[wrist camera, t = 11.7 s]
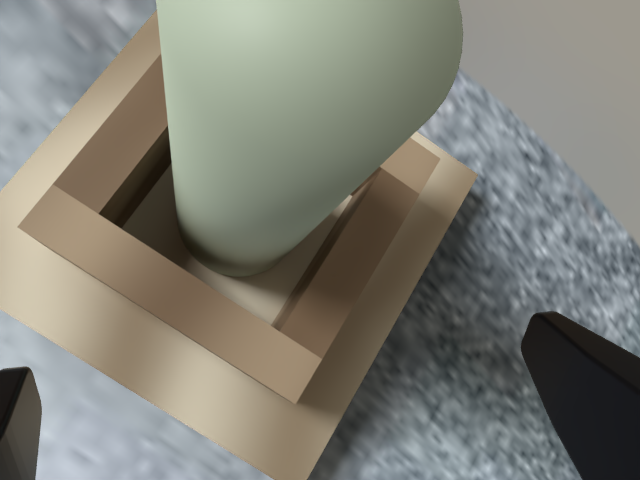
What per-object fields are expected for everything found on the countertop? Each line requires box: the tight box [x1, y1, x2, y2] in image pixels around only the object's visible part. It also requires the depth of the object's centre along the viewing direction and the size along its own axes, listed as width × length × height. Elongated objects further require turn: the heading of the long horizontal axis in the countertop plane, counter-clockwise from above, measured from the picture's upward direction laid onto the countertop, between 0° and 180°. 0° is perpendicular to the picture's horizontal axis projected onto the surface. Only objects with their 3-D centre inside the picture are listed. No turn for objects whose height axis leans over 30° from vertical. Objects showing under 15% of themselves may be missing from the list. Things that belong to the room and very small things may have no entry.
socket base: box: [0, 10, 478, 480], centre depth 19 cm, size 14×14×5 cm
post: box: [156, 0, 463, 277], centre depth 14 cm, size 4×4×13 cm
